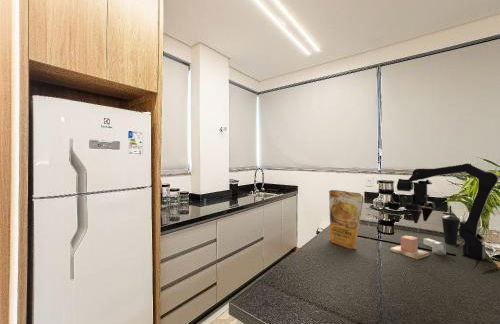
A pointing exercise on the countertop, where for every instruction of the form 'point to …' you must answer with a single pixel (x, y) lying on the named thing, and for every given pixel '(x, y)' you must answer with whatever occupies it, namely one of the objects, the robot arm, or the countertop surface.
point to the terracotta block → (409, 244)
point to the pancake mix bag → (344, 217)
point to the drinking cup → (450, 228)
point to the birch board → (415, 255)
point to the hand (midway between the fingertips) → (420, 222)
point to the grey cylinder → (438, 248)
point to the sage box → (428, 242)
